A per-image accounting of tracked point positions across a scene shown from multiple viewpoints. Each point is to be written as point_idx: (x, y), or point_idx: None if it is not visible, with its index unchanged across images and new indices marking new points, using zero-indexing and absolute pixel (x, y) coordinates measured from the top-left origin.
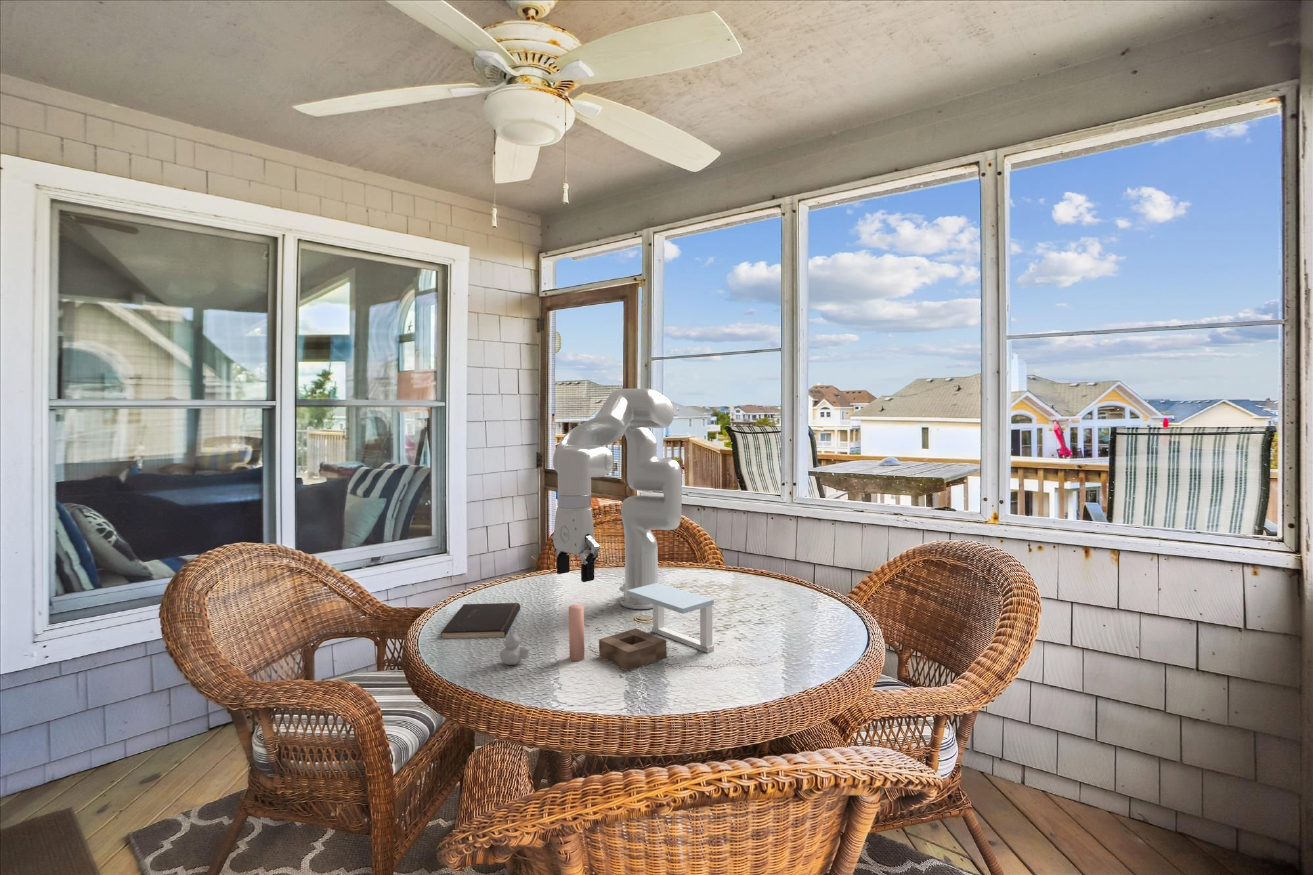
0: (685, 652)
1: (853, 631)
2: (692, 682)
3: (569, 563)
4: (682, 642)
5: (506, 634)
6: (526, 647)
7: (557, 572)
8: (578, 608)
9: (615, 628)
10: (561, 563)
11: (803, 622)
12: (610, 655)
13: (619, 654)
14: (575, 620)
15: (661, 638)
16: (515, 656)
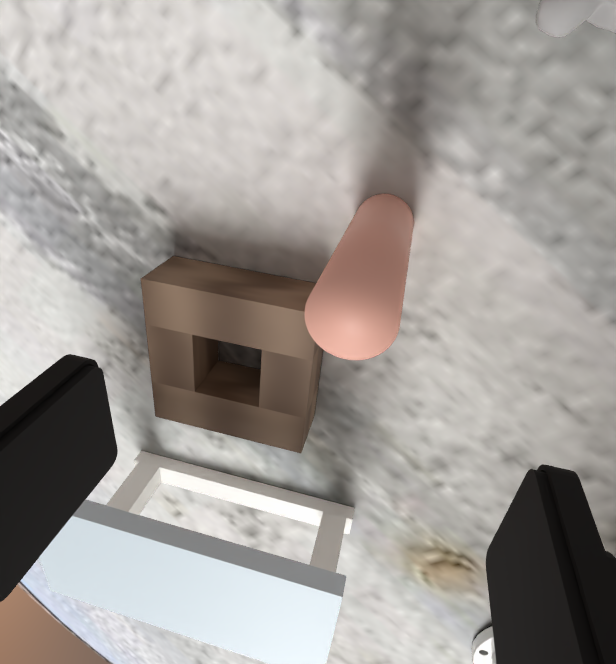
0: (177, 431)
1: (71, 615)
2: (19, 295)
3: (495, 653)
4: (228, 475)
5: None
6: (555, 7)
7: (564, 475)
8: (317, 305)
9: (469, 488)
10: (543, 608)
11: (151, 630)
12: (260, 282)
13: (203, 279)
14: (334, 258)
15: (176, 421)
16: None
